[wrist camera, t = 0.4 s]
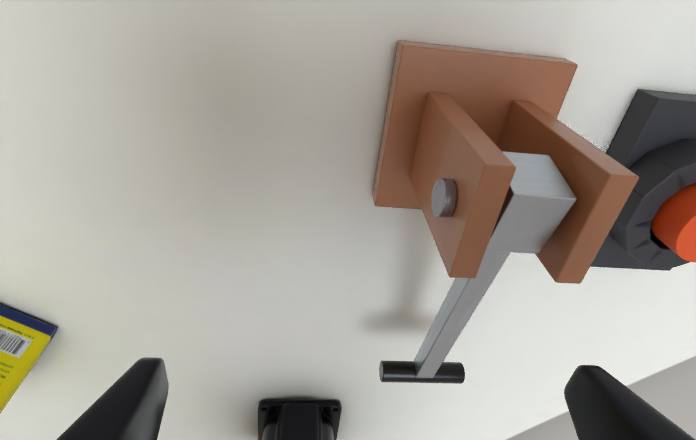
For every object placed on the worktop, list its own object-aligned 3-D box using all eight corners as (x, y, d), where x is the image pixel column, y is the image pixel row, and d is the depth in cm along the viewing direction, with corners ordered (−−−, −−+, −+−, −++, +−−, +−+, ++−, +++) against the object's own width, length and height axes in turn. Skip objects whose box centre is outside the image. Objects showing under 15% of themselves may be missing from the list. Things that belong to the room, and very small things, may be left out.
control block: (653, 255, 26) (695, 293, 23) (558, 250, 26) (589, 288, 23) (754, 101, 21) (825, 125, 18) (637, 88, 20) (692, 112, 17)
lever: (454, 358, 26) (462, 396, 25) (377, 357, 26) (381, 395, 24) (585, 157, 15) (617, 201, 13) (454, 146, 15) (471, 191, 13)
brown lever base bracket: (509, 204, 23) (597, 320, 16) (372, 195, 23) (398, 313, 15) (565, 58, 19) (719, 125, 12) (398, 39, 18) (451, 98, 11)
